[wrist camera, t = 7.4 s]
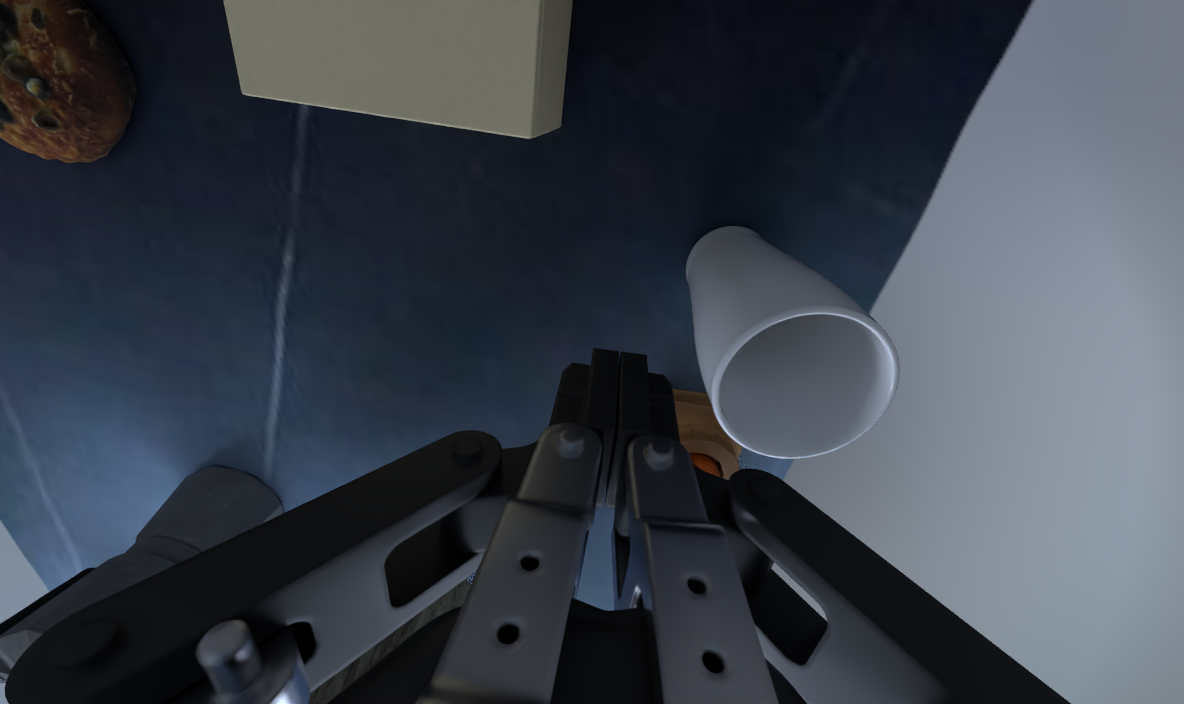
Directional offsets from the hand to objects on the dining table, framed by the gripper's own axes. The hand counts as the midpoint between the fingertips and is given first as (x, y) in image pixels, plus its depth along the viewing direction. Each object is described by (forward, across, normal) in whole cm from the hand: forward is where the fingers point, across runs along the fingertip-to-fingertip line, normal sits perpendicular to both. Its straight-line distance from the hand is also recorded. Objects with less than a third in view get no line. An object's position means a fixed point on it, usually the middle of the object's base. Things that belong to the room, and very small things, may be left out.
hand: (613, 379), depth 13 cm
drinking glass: (+19, -7, +2) cm, 20 cm away
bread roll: (+18, +35, -5) cm, 40 cm away
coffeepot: (+18, +33, +30) cm, 49 cm away
